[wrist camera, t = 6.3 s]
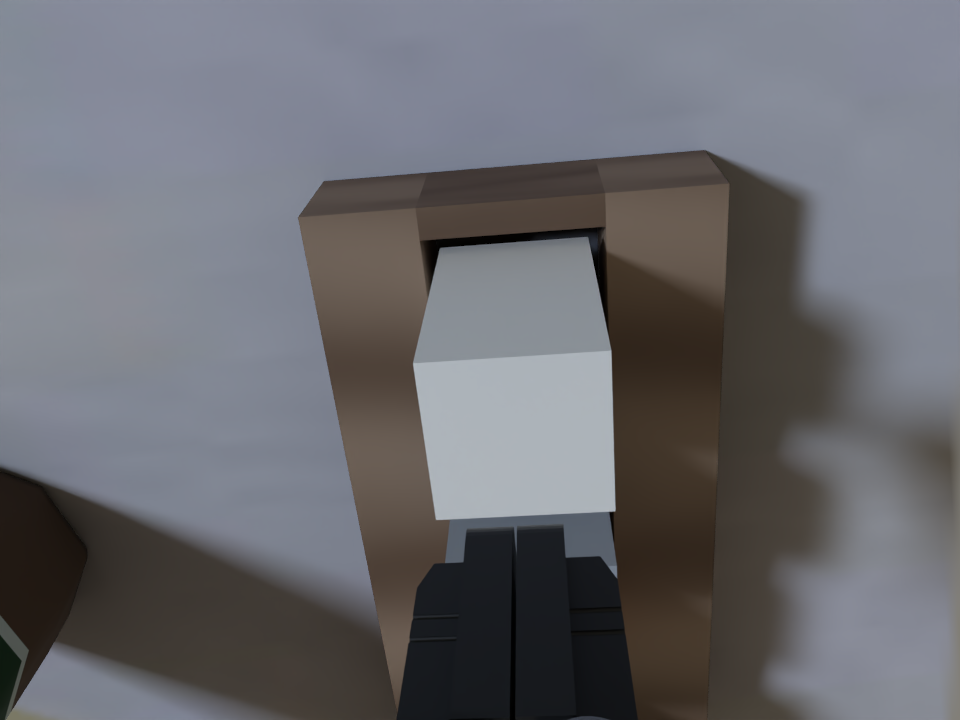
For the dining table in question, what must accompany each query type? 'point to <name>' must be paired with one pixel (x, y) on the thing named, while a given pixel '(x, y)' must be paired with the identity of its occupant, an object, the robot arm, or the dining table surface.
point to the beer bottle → (32, 582)
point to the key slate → (580, 529)
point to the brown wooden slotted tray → (635, 377)
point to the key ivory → (516, 382)
